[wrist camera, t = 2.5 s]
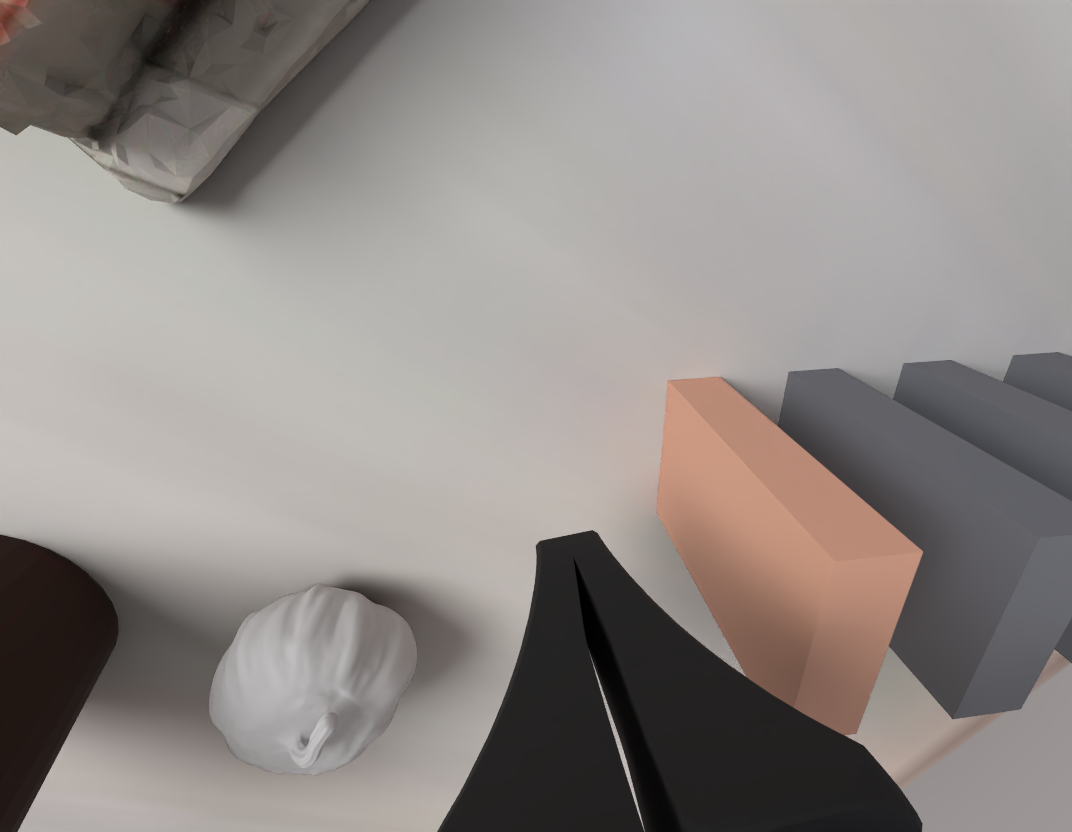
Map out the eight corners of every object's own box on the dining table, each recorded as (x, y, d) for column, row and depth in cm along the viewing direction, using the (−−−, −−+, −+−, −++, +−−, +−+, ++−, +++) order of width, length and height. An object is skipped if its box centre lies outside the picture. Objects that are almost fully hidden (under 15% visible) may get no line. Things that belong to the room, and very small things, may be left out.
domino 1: (719, 377, 16) (923, 551, 9) (702, 508, 18) (856, 734, 11) (668, 380, 16) (834, 561, 9) (656, 512, 18) (783, 744, 11)
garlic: (367, 526, 17) (332, 666, 12) (447, 634, 19) (443, 784, 15) (201, 599, 17) (108, 761, 13) (300, 696, 20) (251, 862, 15)
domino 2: (837, 368, 17) (1120, 528, 10) (807, 498, 19) (1020, 709, 12) (788, 371, 17) (1039, 538, 9) (763, 502, 19) (953, 719, 11)
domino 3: (950, 360, 17) (1304, 508, 10) (908, 488, 19) (1175, 686, 12) (903, 363, 17) (1228, 517, 10) (866, 492, 19) (1111, 695, 12)
